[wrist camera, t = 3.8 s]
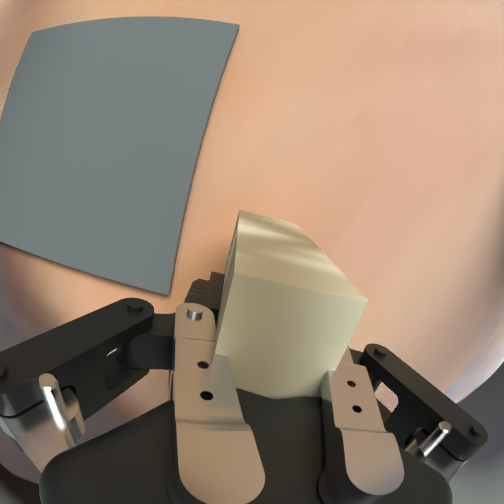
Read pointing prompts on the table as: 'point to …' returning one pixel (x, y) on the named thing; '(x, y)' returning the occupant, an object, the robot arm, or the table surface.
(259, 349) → the block
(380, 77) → the table surface
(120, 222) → the mat
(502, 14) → the table surface
